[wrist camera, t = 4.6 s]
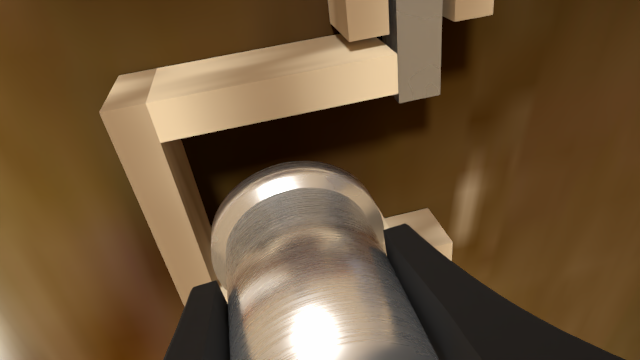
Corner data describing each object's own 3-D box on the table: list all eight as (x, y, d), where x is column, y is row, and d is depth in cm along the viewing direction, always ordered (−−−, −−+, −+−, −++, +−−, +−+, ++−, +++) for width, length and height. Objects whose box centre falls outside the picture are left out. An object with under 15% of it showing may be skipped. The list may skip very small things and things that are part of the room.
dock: (460, -145, 13) (521, -157, 10) (446, 225, 21) (478, 270, 18) (56, -85, 12) (14, -81, 9) (201, 285, 19) (199, 341, 17)
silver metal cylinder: (392, 163, 13) (503, 320, 8) (358, 290, 16) (428, 468, 11) (213, 157, 12) (216, 340, 7) (209, 297, 14) (208, 504, 9)
